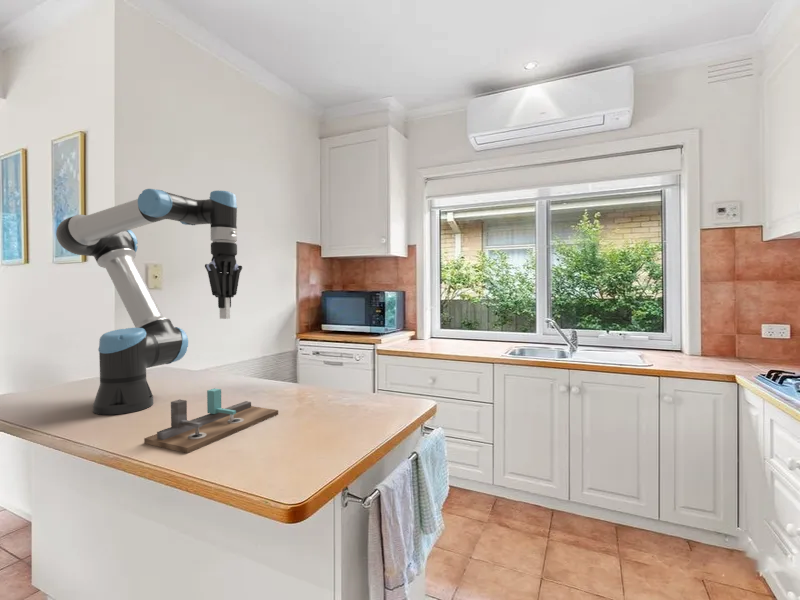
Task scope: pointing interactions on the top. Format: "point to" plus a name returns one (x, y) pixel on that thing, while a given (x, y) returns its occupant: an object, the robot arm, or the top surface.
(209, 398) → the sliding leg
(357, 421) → the top surface
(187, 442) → the board
